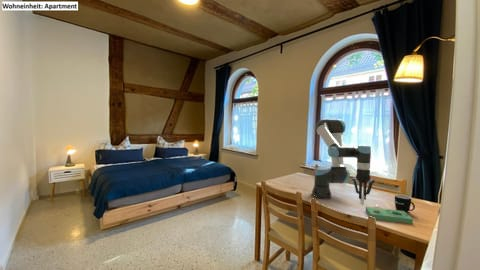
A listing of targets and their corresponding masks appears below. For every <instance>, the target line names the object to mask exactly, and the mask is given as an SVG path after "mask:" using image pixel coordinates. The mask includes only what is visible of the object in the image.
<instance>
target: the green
mask: <svg viewBox="0 0 480 270" xmlns="http://www.w3.org/2000/svg"><path fill="white" fill-rule="evenodd" d="M365 212H366V214H367V216H368V217H369V216H372V217H375V218H376V219H375V220H378V221H386V222H387V221H388V222H394V223H402V224H409V225H411V224H413V223H414V222H413V221H414V220H413V218H412V217H411V215H409V214H408V212H407V213H406V212H405V211H399V210H396V209H390V208H389V209H388V208H382V207H381V210H380V211H378V212H377V211H375V210H374V206H373V207H370V206H365Z"/></svg>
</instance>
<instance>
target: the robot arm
mask: <svg viewBox="0 0 480 270" xmlns="http://www.w3.org/2000/svg"><path fill="white" fill-rule="evenodd" d="M346 127H347V126H346V123H345V121H344V120H343V119H341V118H340V119H339V118H323V119H320V120H319V121H317V123H316V125H315V131H316V133H317V135H319V136H320V137H321V139H322V141H323V142H324V143H325V145H326V147H327V155H328V156H329V158H331V166H330V167H329V166H319V167H316V168H315V169H314V173H313V175H314V178H313V179H314V180H313V181H314V185H313V187H312V191H311V195H312V194H313V195H315V196H317V197H320V198H319V199H323V198H327V199H331V198H332V191H331V189H330V184H340V185H341V184H347V183H348V182H349V180H350V173H351V172H350V170H349V169H348V168H347V167H346V165H345V163H344V158H356V175H355V176H354V177H352V178H351V179H352V180H351V181H353V185H354V190H355V193H356V194H358V199H359V200H360V201H359V202H360V205H361V206H365V200H367V196H368V195H370V194H371V190H372V186H373V185H374V183H375V180H374V179H372V178H371V160H372V159H371V157H372V151H371V150H372V149H371V146H370V145H366V144H359V145H357V146H356V145H350V146H343V144H342V143H343V141H342V136H343V135H344V133H345V131H346ZM357 181H358V183H357ZM313 195H312V196H313ZM317 197H316V198H317Z"/></svg>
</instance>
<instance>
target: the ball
mask: <svg viewBox="0 0 480 270" xmlns="http://www.w3.org/2000/svg"><path fill="white" fill-rule="evenodd" d="M373 208H374V210H375V211H377V212H378V211H380V210H381V208H382V207H381V206H380V205H378V204H375V205H373Z"/></svg>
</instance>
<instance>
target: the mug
mask: <svg viewBox="0 0 480 270" xmlns="http://www.w3.org/2000/svg"><path fill="white" fill-rule="evenodd" d="M411 205H412V209H411ZM394 207H395V210H399V211H405V212H406V213H407V214H408V213H409V211H410V212H413V211H414V210H415V209H416V205H415V204H414V202H412V196H409V195H406V194H400V193H399V194H398V193H397V194H394Z"/></svg>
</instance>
